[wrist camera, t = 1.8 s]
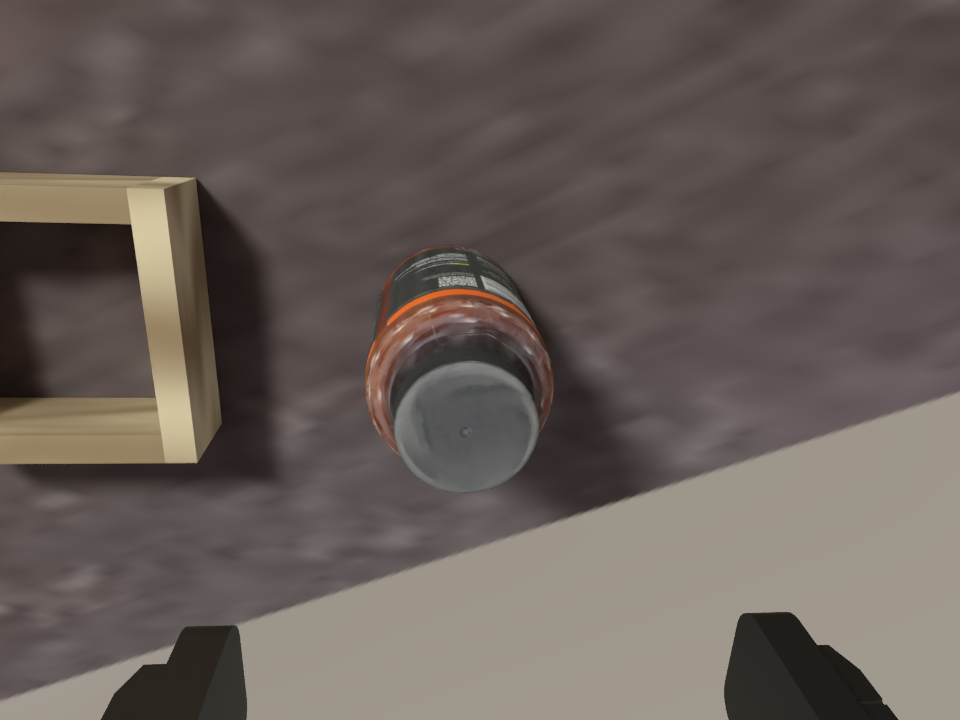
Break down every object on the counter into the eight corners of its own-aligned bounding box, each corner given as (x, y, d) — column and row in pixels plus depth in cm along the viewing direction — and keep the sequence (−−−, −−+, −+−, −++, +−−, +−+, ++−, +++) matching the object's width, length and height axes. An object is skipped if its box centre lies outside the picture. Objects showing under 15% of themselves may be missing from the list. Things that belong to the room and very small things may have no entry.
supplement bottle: (424, 400, 30) (425, 561, 20) (350, 287, 28) (306, 399, 18) (543, 334, 30) (610, 464, 19) (476, 213, 28) (508, 285, 17)
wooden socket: (-95, 169, 25) (-171, 179, 22) (195, 177, 26) (163, 189, 23) (-31, 423, 29) (-89, 464, 26) (221, 423, 30) (197, 462, 27)
